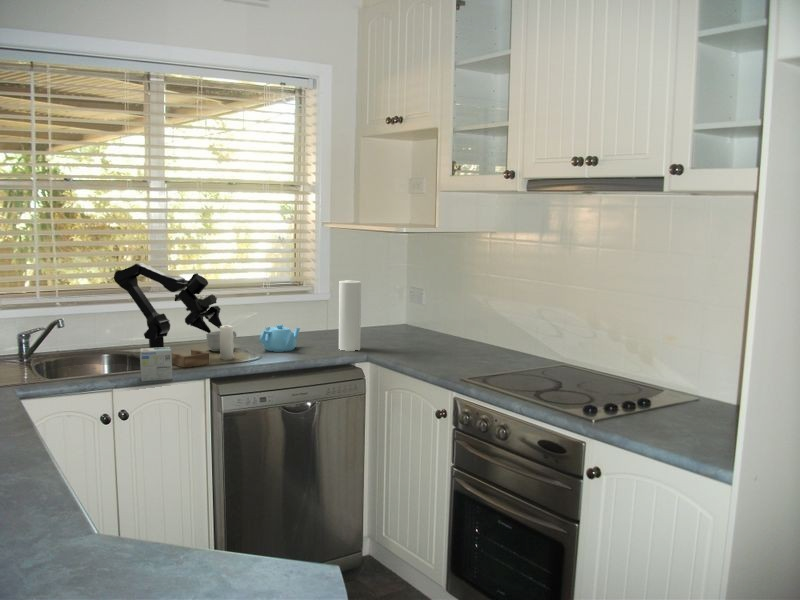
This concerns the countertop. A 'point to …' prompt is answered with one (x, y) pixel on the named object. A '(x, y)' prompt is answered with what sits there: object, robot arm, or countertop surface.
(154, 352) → the light bulb box
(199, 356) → the cradle
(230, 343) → the paper roll
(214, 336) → the teacup
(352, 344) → the cylinder container
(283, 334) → the teapot
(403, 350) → the countertop surface
